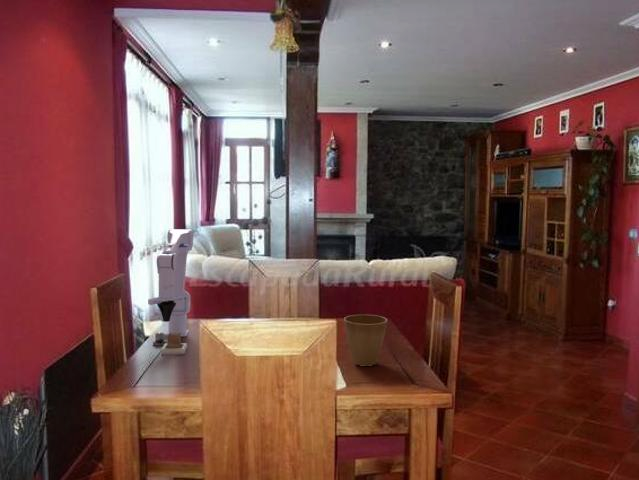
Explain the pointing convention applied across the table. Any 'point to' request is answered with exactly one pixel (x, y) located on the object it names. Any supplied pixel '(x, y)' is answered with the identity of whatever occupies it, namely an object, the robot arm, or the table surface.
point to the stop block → (174, 340)
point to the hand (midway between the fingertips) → (166, 321)
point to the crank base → (160, 343)
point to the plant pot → (365, 337)
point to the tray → (173, 350)
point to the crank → (160, 337)
